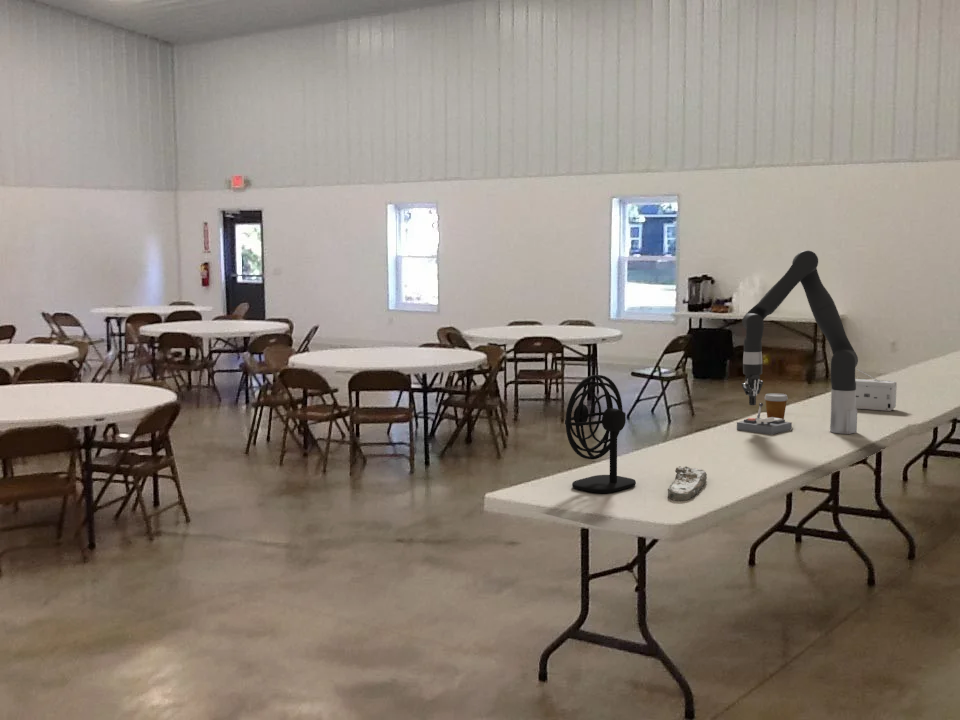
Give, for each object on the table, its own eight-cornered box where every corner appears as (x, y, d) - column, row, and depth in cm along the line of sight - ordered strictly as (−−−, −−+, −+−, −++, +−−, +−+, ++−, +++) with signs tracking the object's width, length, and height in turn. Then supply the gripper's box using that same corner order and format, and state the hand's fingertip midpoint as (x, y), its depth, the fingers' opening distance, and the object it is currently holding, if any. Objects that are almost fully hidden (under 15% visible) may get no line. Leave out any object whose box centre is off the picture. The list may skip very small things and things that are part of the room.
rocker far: (774, 420, 409) (773, 416, 409) (769, 421, 406) (769, 418, 406) (761, 422, 413) (761, 418, 413) (756, 423, 411) (756, 419, 411)
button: (756, 421, 416) (756, 418, 416) (752, 422, 414) (752, 419, 413) (750, 420, 418) (750, 417, 418) (746, 421, 416) (746, 418, 416)
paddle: (782, 421, 415) (782, 418, 415) (777, 422, 412) (777, 419, 412) (773, 420, 418) (773, 417, 418) (768, 421, 415) (768, 418, 415)
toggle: (760, 419, 423) (764, 403, 423) (758, 418, 422) (762, 402, 422) (757, 418, 424) (760, 403, 425) (755, 418, 423) (758, 402, 424)
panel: (791, 429, 414) (791, 419, 414) (771, 434, 404) (771, 423, 404) (756, 424, 426) (757, 414, 426) (736, 429, 416) (736, 418, 415)
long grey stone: (659, 505, 304) (693, 509, 300) (660, 488, 303) (694, 492, 300) (680, 473, 336) (710, 477, 333) (681, 458, 335) (711, 461, 332)
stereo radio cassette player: (896, 409, 462) (897, 365, 460) (892, 412, 455) (894, 367, 453) (848, 406, 473) (849, 363, 471) (844, 408, 466) (845, 365, 464)
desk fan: (607, 474, 337) (607, 369, 333) (650, 483, 324) (651, 374, 320) (552, 488, 318) (552, 377, 314) (596, 498, 306) (596, 382, 302)
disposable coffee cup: (789, 424, 426) (790, 396, 424) (767, 425, 426) (767, 396, 424) (783, 421, 435) (784, 393, 434) (761, 421, 435) (761, 393, 434)
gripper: (752, 364, 405) (751, 407, 407) (769, 361, 414) (769, 403, 416) (735, 363, 411) (735, 406, 413) (753, 360, 420) (753, 402, 422)
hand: (752, 405), depth 414 cm, fingers closed
